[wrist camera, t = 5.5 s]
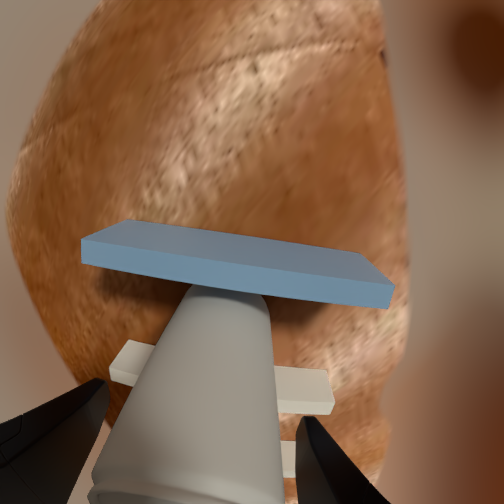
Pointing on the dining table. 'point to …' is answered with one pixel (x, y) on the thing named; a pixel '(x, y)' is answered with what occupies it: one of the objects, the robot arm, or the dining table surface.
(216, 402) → the beverage can
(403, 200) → the dining table surface
